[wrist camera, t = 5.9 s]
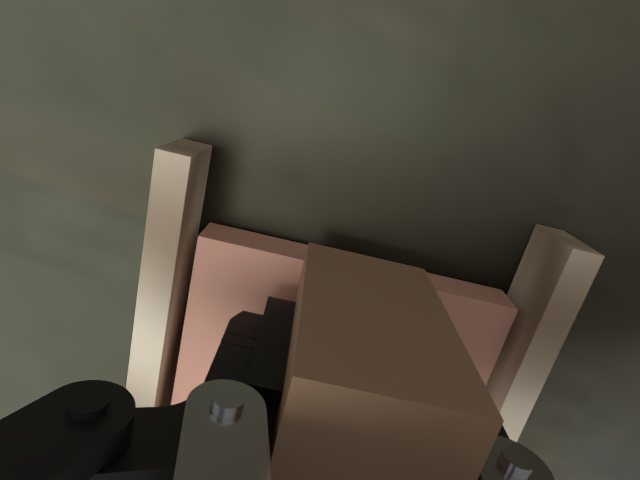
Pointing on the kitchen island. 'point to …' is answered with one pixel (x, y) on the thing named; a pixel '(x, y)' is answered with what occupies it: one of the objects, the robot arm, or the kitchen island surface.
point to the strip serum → (356, 357)
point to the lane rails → (177, 264)
